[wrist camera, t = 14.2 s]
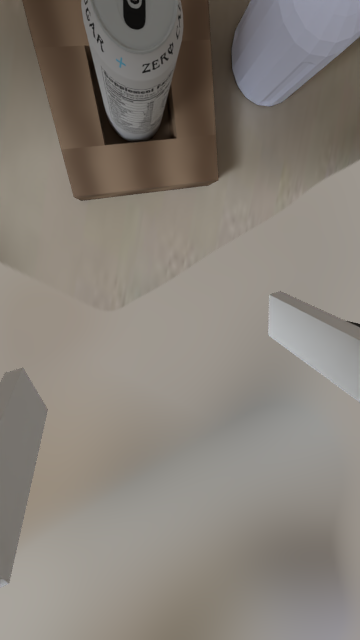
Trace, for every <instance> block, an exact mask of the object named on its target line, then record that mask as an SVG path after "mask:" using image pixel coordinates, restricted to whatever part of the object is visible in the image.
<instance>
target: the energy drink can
mask: <svg viewBox="0 0 360 640" xmlns="http://www.w3.org/2000/svg"><path fill="white" fill-rule="evenodd" d="M81 8H82V15H83V21H84V25H85V30H86V34H87V38H88V42H89V46H90V50H91V54H92V58H93V62H94V66H95V70H96V74H97V78H98V82H99V86H100V90H101V94H102V98H103V102H104V106H105V111H106V114H107V118H108V120H109V122H110V124H111V126H112V128H113V129H114V130H115V132H116V133H117V134H118V135H119V136H121V137H122V138H123V139H125V140H127V141H130V142H144V141H147V140H149V139H150V138H151V137H153V136H154V135H155V133H156V132H157V130H158V128H159V126H160V123H161V120H162V116H163V112H164V108H165V104H166V100H167V96H168V92H169V89H170V85H171V81H172V77H173V73H174V69H175V65H176V61H177V57H178V54H179V50H180V46H181V42H182V35H183V12H182V6H181V0H81Z"/></svg>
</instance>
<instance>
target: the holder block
mask: <svg viewBox="0 0 360 640" xmlns="http://www.w3.org/2000/svg"><path fill="white" fill-rule="evenodd" d="M22 2H23V5H24V9H25V13H26V17H27V21H28V25H29V28H30V32H31V36H32V40H33V44H34V47H35V51H36V55H37V59H38V63H39V66H40V70H41V74H42V78H43V82H44V85H45V89H46V93H47V97H48V101H49V104H50V108H51V112H52V116H53V120H54V123H55V127H56V131H57V135H58V139H59V143H60V146H61V150H62V154H63V158H64V162H65V165H66V169H67V173H68V177H69V181H70V184H71V188H72V192H73V196H74V197H75V198H77V199H79V200H81V201H83V200H91V199H100V198H108V197H116V196H125V195H133V194H141V193H150V192H158V191H166V190H174V189H183V188H191V187H199V186H208V185H210V184H212V183H214V182H216V181H217V180H218V164H217V146H216V128H215V110H214V92H213V74H212V57H211V39H210V21H209V3H208V0H181V6H182V12H183V35H182V42H181V46H180V50H179V54H178V57H177V61H176V65H175V69H174V73H173V77H172V81H171V85H170V89H169V92H168V96H167V100H166V104H165V108H164V112H163V116H162V120H161V123H160V126H159V128H158V130H157V132H156V133H155V135H154V136H153V137H151V138H150V139H149V140H147V141H144V142H130V141H127V140H125V139H123V138H122V137H121V136H119V135H118V134H117V133H116V132H115V130H114V129H113V128H112V126H111V124H110V122H109V120H108V118H107V114H106V111H105V106H104V102H103V98H102V94H101V90H100V86H99V82H98V78H97V74H96V70H95V66H94V62H93V58H92V54H91V50H90V46H89V42H88V38H87V34H86V30H85V25H84V21H83V15H82V8H81V0H22Z"/></svg>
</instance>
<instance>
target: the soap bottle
mask: <svg viewBox="0 0 360 640" xmlns="http://www.w3.org/2000/svg"><path fill="white" fill-rule="evenodd" d="M359 36H360V0H251V1H250V3H249V5H248V7H247V9H246V10H245V12H244V14H243V16H242V18H241V20H240V22H239V24H238V26H237V28H236V30H235V34H234V39H233V44H232V49H231V52H232V70H233V73H234V76H235V79H236V82H237V86H238V87H239V88H240V90H241V91H242V93H243V94H244V96H245V97H246V98H247V99H249V100H250V101H252V102H253V103H255V104H256V105H263V106H273V105H276V104H278V103H281V102H283V101H284V100H285V99H287V98H288V97H289V96H290V95H291V94H293V93H294V92H295V91H296V90H297V89H299V88H300V87H301V86H302V85H303V84H305V83H306V82H307V81H308V80H309V79H310V78H312V77H313V76H314V75H315V74H316V73H318V72H319V71H320V70H321V69H322V68H324V67H325V66H326V65H327V64H328V63H330V62H331V61H332V60H333V59H334V58H336V57H337V56H338V55H339V54H340V53H342V52H343V51H344V50H345V49H346V48H347V47H348V46H350V45H351V44H352V43H353V42H354V41H355V40H356V39H357V38H359Z"/></svg>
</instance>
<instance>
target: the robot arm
mask: <svg viewBox="0 0 360 640" xmlns="http://www.w3.org/2000/svg"><path fill="white" fill-rule="evenodd" d="M268 329H269V330H268V335H269V336H270V337H272V338H273V339H274V340H276V341H277V342H279V343H280V344H281V345H282V346H284V347H285V348H286V349H288V350H289V351H291V352H292V353H293V354H295V355H296V356H297V357H299V358H300V359H301V360H303V361H304V362H305V363H307V364H308V365H310V366H311V367H312V368H314V369H315V370H316V371H318V372H319V373H320V374H322V375H323V376H325V377H326V378H327V379H329V380H330V381H331V382H332V383H334V384H335V385H337V386H338V387H339V388H341V389H342V390H343V391H345V392H346V393H347V394H349V395H350V396H352V397H353V398H354V399H355V400H357V401H358V402H359V403H360V324H358V323H353V322H349V321H345V320H343V319H340V318H338V317H336V316H334V315H332V314H329V313H327V312H325V311H323V310H321V309H318V308H316V307H314V306H312V305H310V304H308V303H305V302H303V301H301V300H299V299H296V298H294V297H292V296H290V295H288V294H286V293H283V292H281V291H280V292H276V293H273V294H270V295H269V328H268ZM47 411H48V409H47V407H46V405H45V404H44V402H43V400H42V399H41V397H40V395H39V394H38V392H37V390H36V389H35V387H34V385H33V383H32V382H31V380H30V378H29V377H28V375H27V373H26V372H25V370H24V368H20V369H17V370H14V371H10V372H7V373H5V374H4V376H3V378H2V380H1V382H0V588H1V587H3V586H5V585H7V584H9V581H10V577H11V572H12V567H13V563H14V559H15V554H16V550H17V545H18V541H19V536H20V532H21V527H22V522H23V519H24V514H25V509H26V505H27V501H28V496H29V492H30V487H31V483H32V478H33V473H34V469H35V465H36V460H37V456H38V451H39V447H40V442H41V438H42V433H43V429H44V424H45V420H46V415H47Z"/></svg>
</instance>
